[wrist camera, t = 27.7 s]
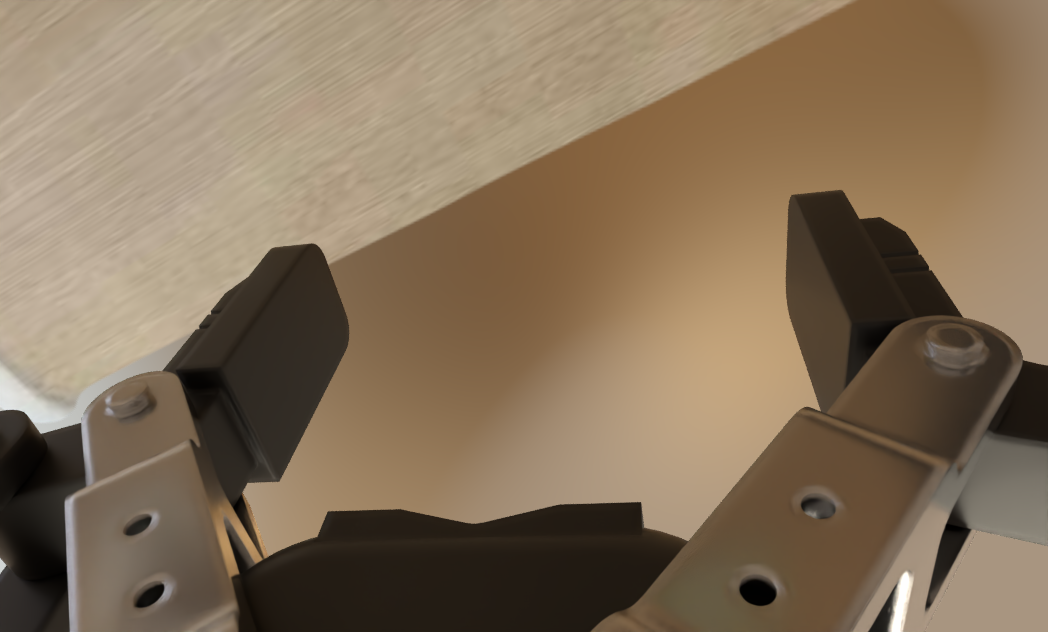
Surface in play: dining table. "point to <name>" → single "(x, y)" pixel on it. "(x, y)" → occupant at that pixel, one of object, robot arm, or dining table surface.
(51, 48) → the dining table surface
